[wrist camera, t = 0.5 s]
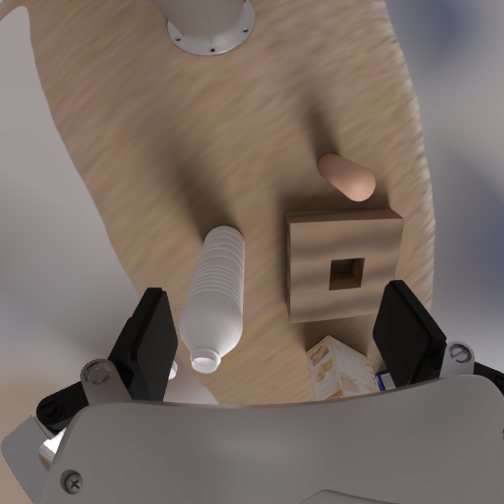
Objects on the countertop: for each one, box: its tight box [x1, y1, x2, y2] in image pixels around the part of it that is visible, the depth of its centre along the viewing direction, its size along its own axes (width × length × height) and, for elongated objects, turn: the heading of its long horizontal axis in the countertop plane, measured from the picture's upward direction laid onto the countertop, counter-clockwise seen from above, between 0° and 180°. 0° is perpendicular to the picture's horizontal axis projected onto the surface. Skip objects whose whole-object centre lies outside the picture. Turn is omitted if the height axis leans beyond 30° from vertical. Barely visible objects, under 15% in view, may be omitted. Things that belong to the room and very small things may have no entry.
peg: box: [318, 153, 375, 201], centre depth 34 cm, size 4×4×12 cm
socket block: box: [286, 208, 404, 323], centre depth 44 cm, size 18×18×5 cm
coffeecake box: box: [306, 335, 380, 401], centre depth 49 cm, size 15×7×20 cm, turn 52°
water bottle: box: [169, 226, 245, 379], centre depth 34 cm, size 9×6×25 cm
